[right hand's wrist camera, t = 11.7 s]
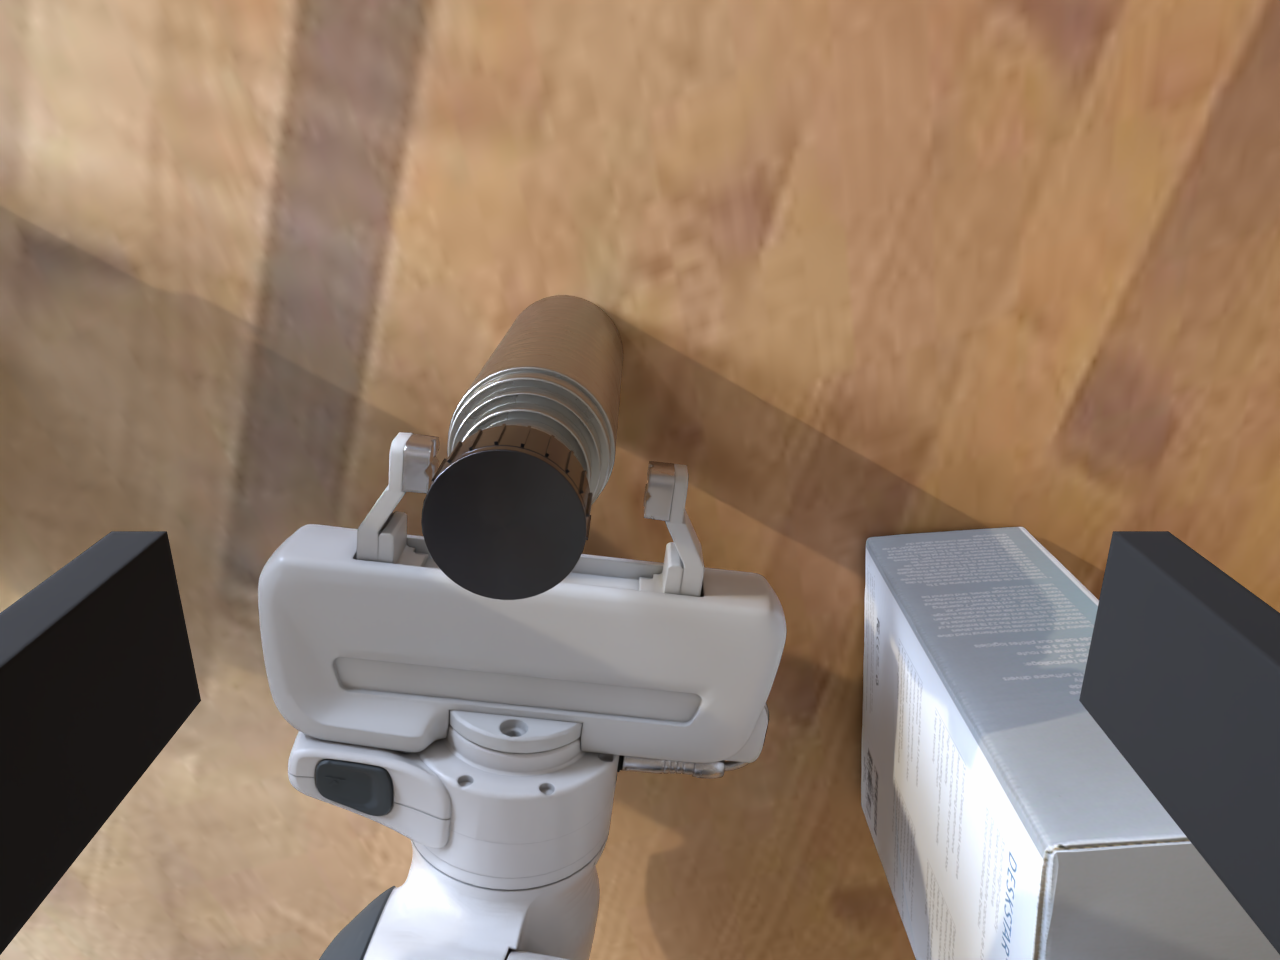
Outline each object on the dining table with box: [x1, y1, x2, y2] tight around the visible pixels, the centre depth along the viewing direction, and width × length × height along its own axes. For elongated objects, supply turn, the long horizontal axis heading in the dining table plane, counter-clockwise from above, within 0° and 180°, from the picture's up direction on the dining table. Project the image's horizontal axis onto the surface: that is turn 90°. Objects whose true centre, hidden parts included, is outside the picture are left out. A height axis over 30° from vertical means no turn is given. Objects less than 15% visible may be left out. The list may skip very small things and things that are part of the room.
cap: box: [422, 424, 593, 600], centre depth 22 cm, size 4×4×2 cm
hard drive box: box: [861, 527, 1280, 960], centre depth 34 cm, size 16×8×20 cm, turn 5°
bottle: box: [447, 295, 623, 505], centre depth 30 cm, size 5×5×18 cm
